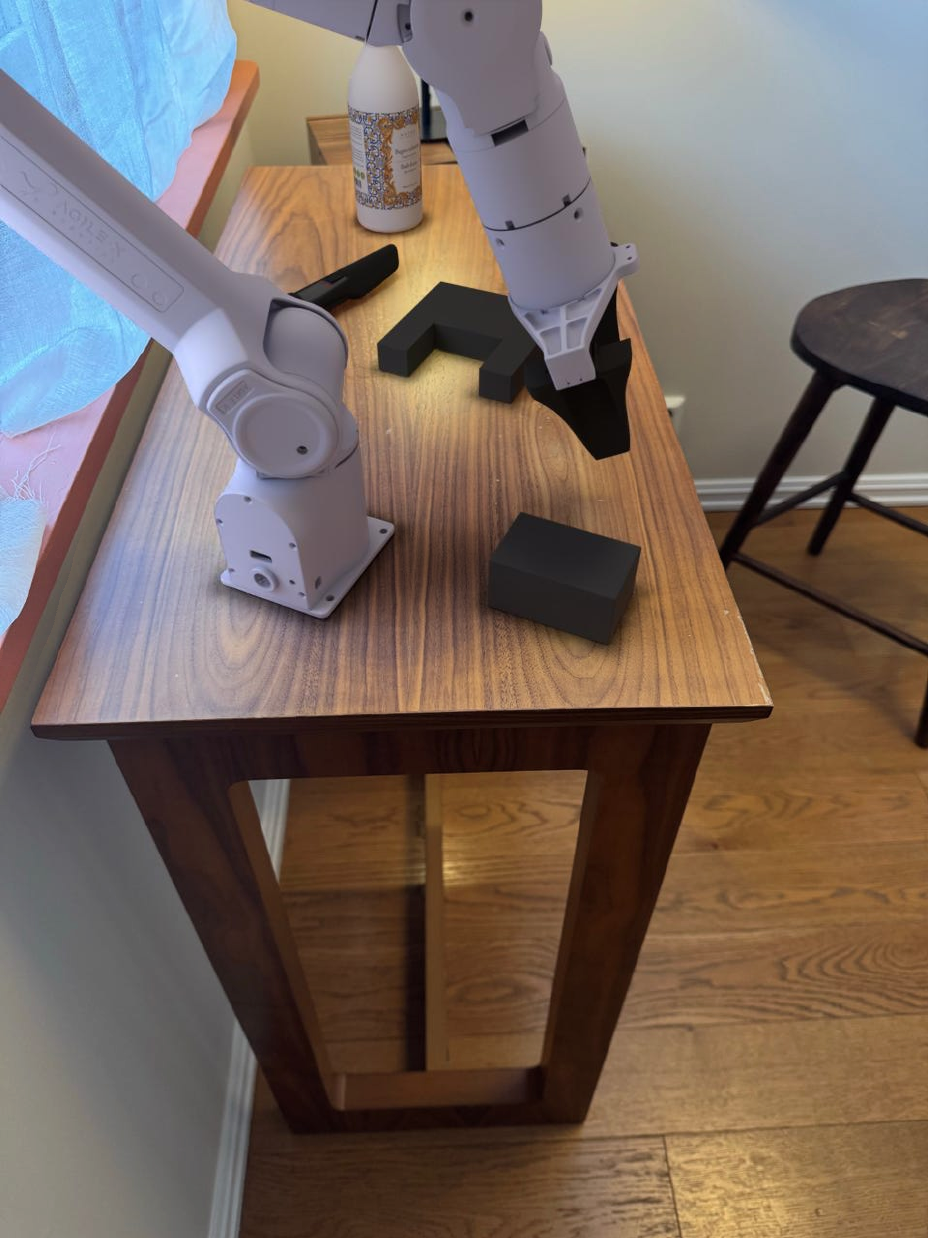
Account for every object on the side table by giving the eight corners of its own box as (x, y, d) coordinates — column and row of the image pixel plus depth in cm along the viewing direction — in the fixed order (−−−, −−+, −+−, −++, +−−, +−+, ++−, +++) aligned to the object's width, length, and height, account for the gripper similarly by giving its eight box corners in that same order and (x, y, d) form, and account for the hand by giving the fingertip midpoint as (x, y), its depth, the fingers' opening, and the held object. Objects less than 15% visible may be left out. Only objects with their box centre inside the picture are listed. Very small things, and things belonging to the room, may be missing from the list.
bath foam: (387, 240, 93) (372, 12, 79) (344, 220, 97) (323, -3, 82) (436, 220, 97) (431, -2, 82) (393, 201, 100) (381, -16, 86)
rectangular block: (633, 593, 58) (642, 546, 55) (608, 646, 55) (615, 599, 52) (517, 557, 61) (520, 510, 58) (487, 606, 57) (488, 559, 55)
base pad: (510, 403, 73) (511, 376, 71) (378, 370, 77) (376, 343, 75) (563, 334, 80) (565, 307, 79) (441, 306, 84) (440, 280, 82)
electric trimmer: (410, 279, 88) (409, 247, 86) (296, 343, 79) (291, 309, 77) (381, 268, 90) (379, 236, 87) (266, 330, 81) (260, 296, 79)
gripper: (622, 240, 39) (689, 472, 48) (606, 108, 48) (664, 324, 58) (469, 294, 41) (561, 506, 51) (482, 158, 51) (558, 357, 60)
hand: (609, 411), depth 54 cm, fingers open, 7 cm apart
